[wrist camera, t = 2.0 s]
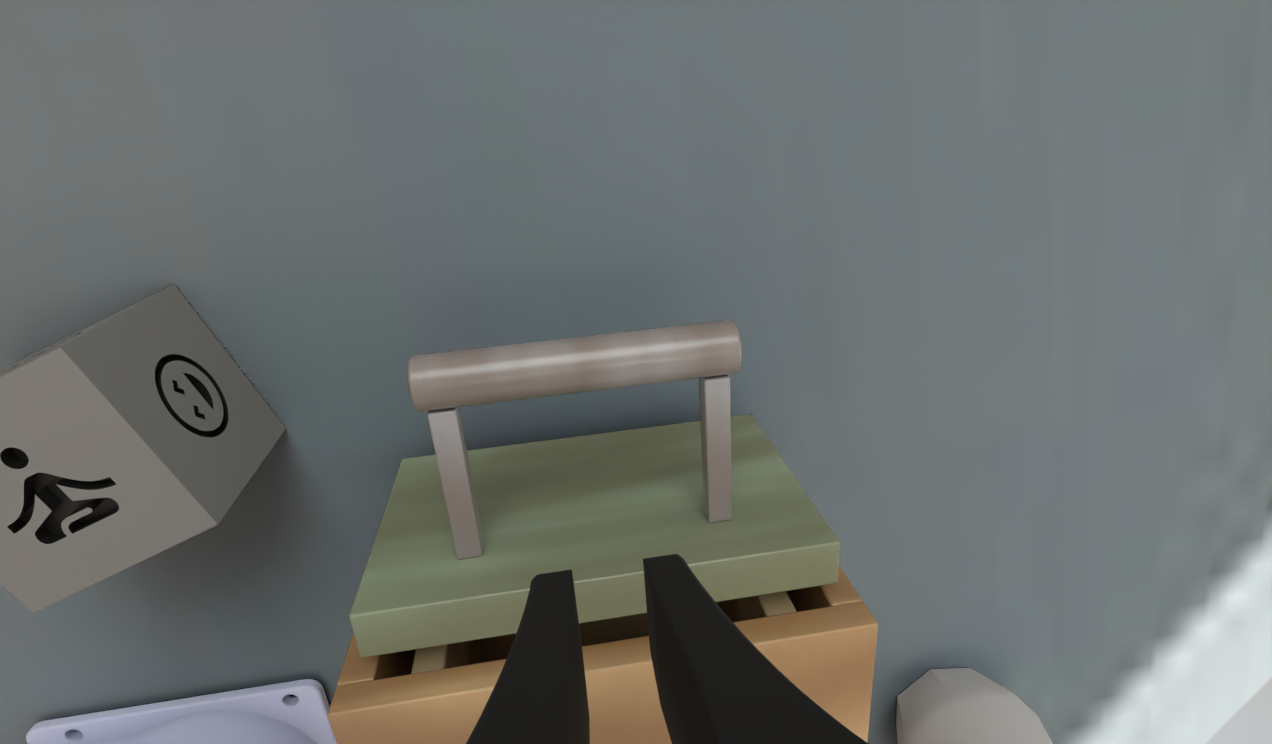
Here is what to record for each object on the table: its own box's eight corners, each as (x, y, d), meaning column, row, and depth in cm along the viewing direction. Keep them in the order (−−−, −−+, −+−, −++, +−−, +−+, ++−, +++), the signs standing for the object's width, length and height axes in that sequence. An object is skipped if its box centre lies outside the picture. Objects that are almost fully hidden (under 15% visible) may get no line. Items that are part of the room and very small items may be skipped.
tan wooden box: (397, 492, 22) (326, 715, 14) (761, 444, 23) (879, 624, 16) (466, 782, 27) (441, 1061, 20) (759, 730, 29) (847, 971, 21)
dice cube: (140, 498, 21) (32, 613, 16) (14, 362, 19) (-149, 450, 14) (285, 428, 21) (218, 524, 16) (174, 284, 19) (60, 347, 14)
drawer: (364, 298, 19) (284, 403, 13) (751, 258, 20) (853, 336, 14) (468, 750, 26) (449, 962, 19) (752, 700, 27) (820, 886, 21)
